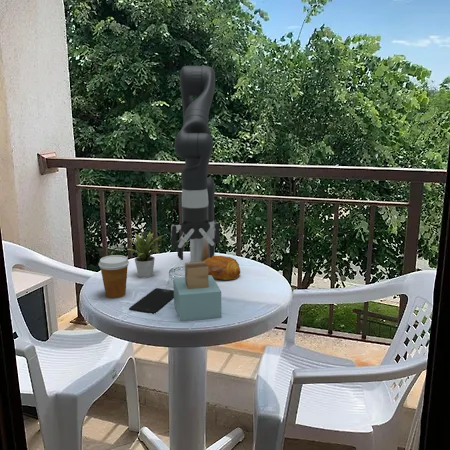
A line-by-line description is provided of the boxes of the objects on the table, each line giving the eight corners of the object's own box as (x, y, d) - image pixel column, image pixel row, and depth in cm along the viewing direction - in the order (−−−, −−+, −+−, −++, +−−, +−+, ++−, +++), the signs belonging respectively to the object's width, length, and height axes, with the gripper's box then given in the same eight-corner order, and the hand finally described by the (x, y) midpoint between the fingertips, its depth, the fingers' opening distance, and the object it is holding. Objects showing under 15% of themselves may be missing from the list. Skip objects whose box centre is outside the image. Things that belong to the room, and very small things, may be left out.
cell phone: (180, 293, 166) (180, 291, 166) (154, 315, 150) (154, 312, 149) (156, 290, 169) (156, 287, 169) (128, 311, 153) (128, 308, 152)
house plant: (162, 283, 174) (161, 237, 170) (122, 283, 174) (120, 237, 170) (168, 269, 188) (167, 227, 184) (131, 269, 188) (128, 227, 184)
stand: (173, 302, 158) (173, 278, 156) (211, 299, 160) (211, 275, 158) (180, 321, 145) (179, 295, 143) (221, 317, 147) (221, 291, 145)
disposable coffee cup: (101, 301, 159) (98, 265, 156) (100, 290, 168) (97, 256, 165) (132, 298, 161) (130, 262, 158) (129, 287, 170) (127, 253, 167)
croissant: (227, 290, 174) (229, 269, 171) (190, 276, 182) (192, 255, 179) (248, 277, 186) (251, 257, 183) (213, 264, 193) (215, 244, 191)
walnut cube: (185, 281, 153) (184, 262, 151) (204, 280, 154) (204, 261, 153) (188, 289, 147) (187, 269, 146) (208, 287, 148) (208, 267, 147)
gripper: (216, 200, 150) (217, 252, 154) (168, 202, 146) (170, 256, 151) (222, 205, 142) (222, 260, 147) (171, 208, 139) (173, 264, 144)
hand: (195, 258), depth 149 cm, fingers open, 8 cm apart
